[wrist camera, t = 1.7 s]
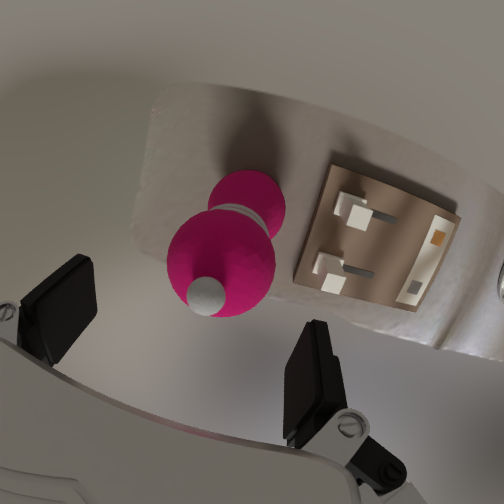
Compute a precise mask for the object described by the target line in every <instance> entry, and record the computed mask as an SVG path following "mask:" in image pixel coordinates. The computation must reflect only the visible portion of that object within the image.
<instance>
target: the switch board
mask: <svg viewBox="0 0 504 504" xmlns="http://www.w3.org/2000/svg"><path fill="white" fill-rule="evenodd" d="M339 191H342V192H345V193H348V194H351V195H354V196H357V197H360V198H363V199H366V200H367V203H366V205H367V206H368V207H369V208H370V209H371V210H372V211H373V213H372V216H371V218H370V221H369V224H368V226H367V229H366V231H363V230H360V229H357V228H354V227H351V226H347V225H346V224H345V222H344V221H343V219H342V218H341V216H339V215H335V214H333V209H334V206H335V203H336V200H337V197H338V194H339ZM460 221H461V218H460V217H459V216H457V215H455V214H454V213H452V212H450V211H447V210H445V209H443V208H441V207H439V206H437V205H435V204H433V203H431V202H428V201H426V200H424V199H422V198H420V197H417V196H415V195H413V194H410V193H408V192H406V191H403V190H401V189H399V188H396V187H394V186H391V185H389V184H386V183H384V182H381V181H379V180H376V179H373V178H371V177H368V176H365V175H362V174H360V173H357V172H354V171H351V170H348V169H345V168H343V167H340V166H337V165H333V164H329V167H328V170H327V174H326V177H325V180H324V184H323V187H322V190H321V193H320V196H319V200H318V203H317V206H316V209H315V212H314V215H313V218H312V222H311V225H310V228H309V231H308V234H307V237H306V240H305V243H304V246H303V249H302V251H301V254H300V257H299V260H298V263H297V266H296V269H295V272H294V274H293V283H295V284H299V285H303V286H307V287H311V288H315V289H319V290H321V289H320V284H319V279H318V274H315V273H312V268H313V266H314V263H315V260H316V258H317V255H318V252H323V253H326V254H330V255H334V256H337V257H341V258H344V260H345V261H344V263H343V266H342V268H343V270H344V273H345V275H346V280H345V282H344V284H343V287H342V289H341V291H340V293H339V295H343V296H347V297H351V298H356V299H360V300H364V301H368V302H372V303H377V304H381V305H385V306H390V307H394V308H398V309H403V310H407V311H411V312H416V311H417V310H418V308H419V306H420V305H421V303H422V301H423V299H424V297H425V296H426V294H427V292H428V290H429V288H430V286H431V285H432V283H433V281H434V279H435V277H436V275H437V273H438V271H439V269H440V267H441V265H442V263H443V260H444V258H445V256H446V254H447V252H448V250H449V247H450V245H451V243H452V240H453V238H454V236H455V233H456V231H457V228H458V226H459V223H460Z"/></svg>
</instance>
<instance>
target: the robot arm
mask: <svg viewBox="0 0 504 504" xmlns="http://www.w3.org/2000/svg"><path fill="white" fill-rule="evenodd" d="M498 296H499V299H500V300H501V302H502V303H503V304H504V266H503V268H502V271H501V274H500V278H499V283H498ZM20 302H21V306H20V307H18V305H17V304H16V303H15V302H12V301H4V302H1V303H0V504H427V503H426V501H424V499H423V498H422V496H421V495H420V494H419V492H418V491H417V489H416V488H415V487H414V485H413V484H412V483H411V482H410V483H407V482H406V477H407V471H406V467H405V466H404V464H403V463H402V462H401V461H400V460H399V459H398V458H397V457H395V456H394V455H392V454H391V453H390V452H388V450H386V449H385V448H384V447H382V446H381V445H380V444H379V443H377V442H376V441H375V440H374V439H372V438H371V437H370V436H369V435H368V434H369V430H370V426H369V422H368V420H367V419H366V417H365V416H364V415H363V414H362V413H361V412H359V411H357V410H354V409H348V407H347V401H346V395H345V389H344V383H343V378H342V372H341V367H340V362H339V358H338V357H337V356H335V355H333V351H332V346H331V341H330V335H329V330H328V325H327V322H324V321H319V320H315V319H313V320H312V321H311V322H307V323H306V325H305V327H304V329H303V331H302V333H301V335H300V338H299V340H298V342H297V344H296V346H295V348H294V350H293V352H292V354H291V356H290V358H289V360H288V362H287V364H286V367H285V373H284V374H285V375H284V376H285V378H284V419H283V438H284V439H287V446H288V447H285V446H279V445H274V444H269V443H263V442H256V441H251V440H246V439H241V438H236V437H232V436H227V435H223V434H219V433H214V432H210V431H206V430H202V429H198V428H194V427H191V426H187V425H184V424H181V423H178V422H174V421H171V420H168V419H165V418H162V417H159V416H156V415H153V414H151V413H148V412H145V411H142V410H140V409H137V408H135V407H131V406H129V405H127V404H124V403H122V402H120V401H117V400H115V399H113V398H110V397H108V396H106V395H104V394H101V393H100V392H97V391H95V390H93V389H91V388H89V387H87V386H85V385H83V384H81V383H79V382H77V381H75V380H73V379H71V378H69V377H68V376H66V375H64V374H62V373H61V372H59V371H57V370H55V369H54V368H52V367H53V365H54V364H57V363H59V361H60V360H61V359H62V357H63V356H64V355H65V353H66V352H67V351H68V350H69V348H70V347H71V346H72V344H73V343H74V342H75V341H76V339H77V338H78V337H79V336H80V334H81V333H82V332H83V331H84V329H85V328H86V327H87V326H88V325H89V323H90V322H91V321H92V320H93V319H94V317H95V316H96V314H97V302H96V292H95V283H94V268H93V262H92V261H91V259H90V258H89V257H87V256H84V255H82V254H77V255H75V256H74V257H73V258H71V259H70V260H69V261H68V262H66V263H65V264H64V265H62V266H61V267H60V268H59V269H57V270H56V271H55V272H54V273H52V274H51V275H50V276H49V277H47V278H46V279H45V280H44V281H43V282H41V283H40V284H39V285H38V286H37V287H35V288H34V289H33V290H32V291H31V292H30V293H28V294H27V295H26V296H25V297H24V298H23V299H22V300H21V301H20ZM291 447H295V448H291Z"/></svg>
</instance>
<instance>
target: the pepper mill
mask: <svg viewBox="0 0 504 504" xmlns="http://www.w3.org/2000/svg"><path fill="white" fill-rule="evenodd" d="M285 208H286V207H285V200H284V196H283V194H282V192H281V190H280V188H279V187H278V185H277V184H276V183H275V181H274V180H273V179H272V178H271V177H270V176H268V175H267V174H265V173H263V172H260V171H256V170H242V171H237V172H233V173H231V174H229V175H227V176H225V177H224V178H223V179H221V180H220V181H219V182H218V184H217V185H216V186H215V188H214V189H213V191H212V193H211V195H210V198H209V201H208V211H204V212H201V213H199V214H197V215H195V216H193V217H191V218H190V219H189V220H188V221H187V222H185V223H184V224H183V225H182V226H181V227H180V228H179V230H178V231H177V232H176V234H175V236H174V237H173V239H172V241H171V244H170V246H169V249H168V255H167V271H168V276H169V279H170V282H171V284H172V287H173V289H174V290H175V292H176V293H177V295H178V296H179V297H180V299H181V300H182V301H183V302H184V303H185V304H187V305H188V306H189V307H190V308H191V309H192V310H193V311H194V312H196V313H198V314H200V315H204V316H208V315H209V316H213V317H231V316H235V315H239V314H242V313H244V312H246V311H248V310H250V309H251V308H253V307H255V306H256V305H257V304H258V303H259V302H260V301H261V300H262V299H263V298H264V297H265V295H266V293H267V292H268V290H269V288H270V286H271V283H272V281H273V278H274V273H275V267H276V263H275V252H274V249H273V246H272V243H271V239H272V238H273V237H274V236H275V235H276V234H277V232H278V231H279V230H280V228H281V226H282V223H283V220H284V216H285Z"/></svg>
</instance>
